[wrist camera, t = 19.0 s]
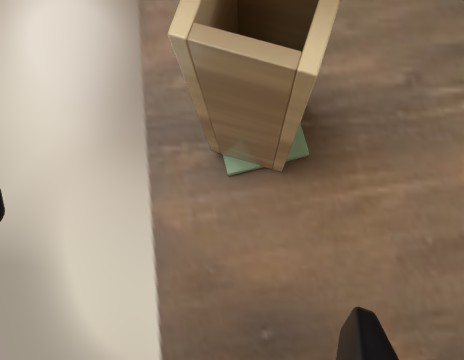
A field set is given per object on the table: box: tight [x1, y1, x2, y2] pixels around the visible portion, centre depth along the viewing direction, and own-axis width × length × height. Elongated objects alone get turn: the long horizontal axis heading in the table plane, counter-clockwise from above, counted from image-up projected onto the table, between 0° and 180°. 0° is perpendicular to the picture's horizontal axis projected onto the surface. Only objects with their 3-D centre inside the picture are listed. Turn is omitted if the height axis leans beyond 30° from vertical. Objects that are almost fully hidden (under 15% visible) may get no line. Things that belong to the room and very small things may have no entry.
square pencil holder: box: [168, 0, 341, 172], centre depth 17 cm, size 5×4×12 cm
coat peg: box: [223, 124, 309, 176], centre depth 22 cm, size 5×5×4 cm
